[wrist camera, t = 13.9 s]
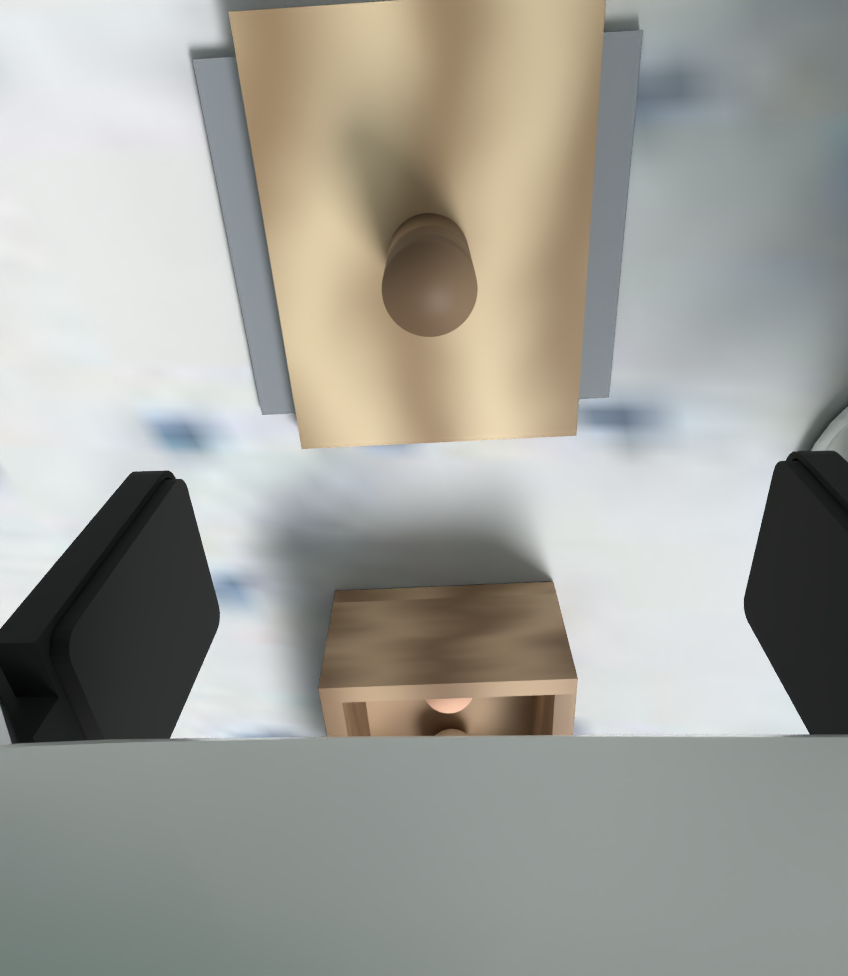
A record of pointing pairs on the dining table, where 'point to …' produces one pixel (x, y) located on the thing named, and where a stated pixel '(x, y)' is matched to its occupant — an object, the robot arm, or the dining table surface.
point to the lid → (426, 210)
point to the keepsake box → (448, 661)
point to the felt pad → (251, 246)
